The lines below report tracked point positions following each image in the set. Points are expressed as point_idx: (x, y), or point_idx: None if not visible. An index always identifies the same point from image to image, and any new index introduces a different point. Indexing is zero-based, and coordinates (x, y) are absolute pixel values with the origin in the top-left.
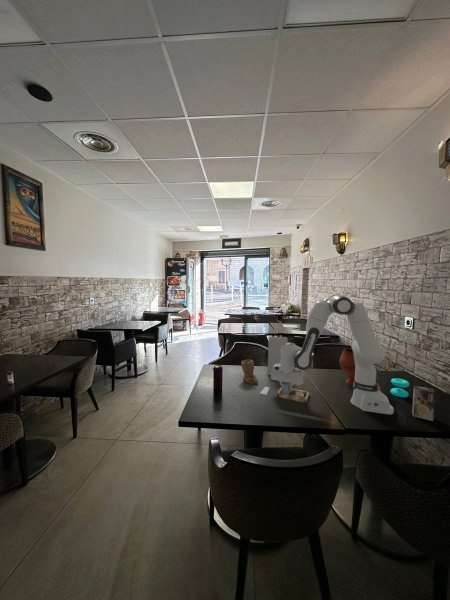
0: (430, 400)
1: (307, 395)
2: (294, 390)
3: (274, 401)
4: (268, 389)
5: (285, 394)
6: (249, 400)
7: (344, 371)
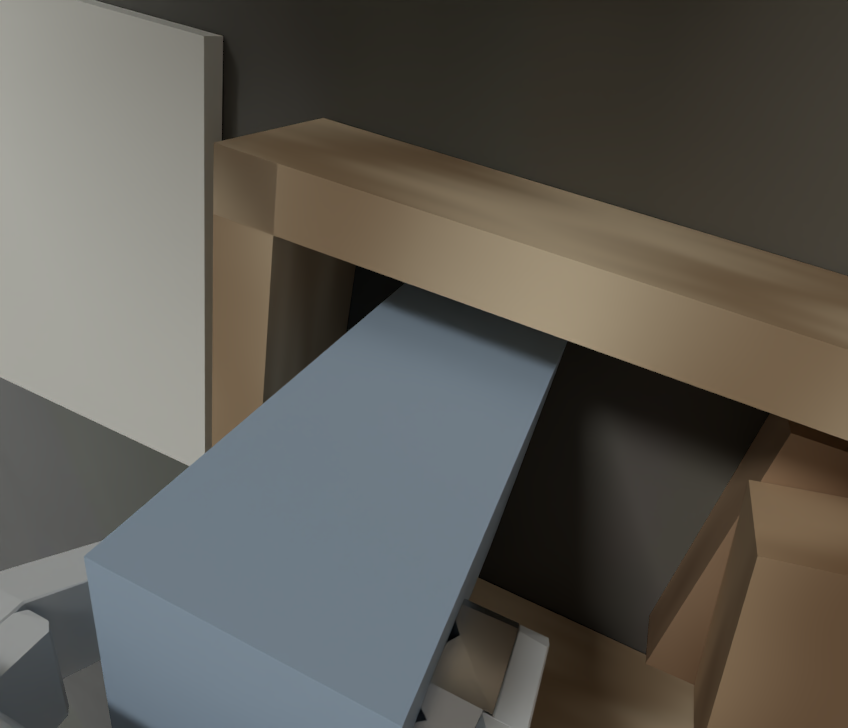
0: None
1: None
2: (740, 390)
3: None
4: (19, 148)
5: None
6: (3, 552)
7: None
